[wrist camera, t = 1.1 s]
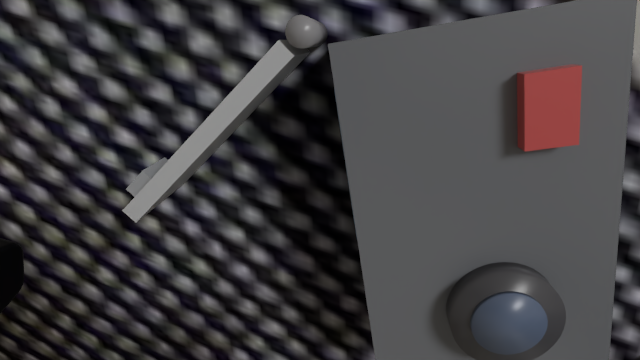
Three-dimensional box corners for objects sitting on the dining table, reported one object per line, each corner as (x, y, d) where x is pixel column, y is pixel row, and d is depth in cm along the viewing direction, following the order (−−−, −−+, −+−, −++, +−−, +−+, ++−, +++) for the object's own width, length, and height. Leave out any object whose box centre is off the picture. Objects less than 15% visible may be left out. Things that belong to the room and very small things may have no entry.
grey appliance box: (550, 297, 20) (623, 395, 15) (371, 311, 22) (375, 406, 16) (556, 4, 16) (662, -15, 10) (332, 43, 17) (319, 45, 12)
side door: (185, 186, 20) (136, 228, 16) (162, 165, 20) (105, 201, 15) (332, 34, 17) (322, 32, 13) (307, 7, 17) (289, -5, 12)
